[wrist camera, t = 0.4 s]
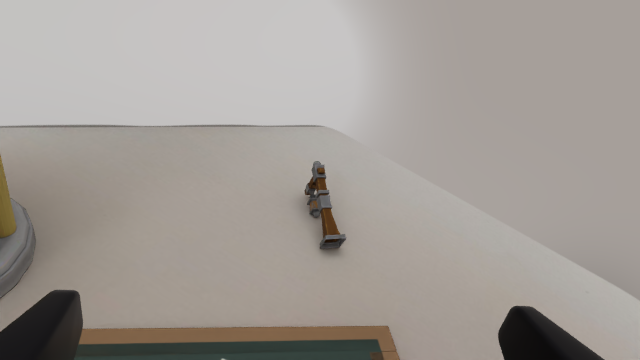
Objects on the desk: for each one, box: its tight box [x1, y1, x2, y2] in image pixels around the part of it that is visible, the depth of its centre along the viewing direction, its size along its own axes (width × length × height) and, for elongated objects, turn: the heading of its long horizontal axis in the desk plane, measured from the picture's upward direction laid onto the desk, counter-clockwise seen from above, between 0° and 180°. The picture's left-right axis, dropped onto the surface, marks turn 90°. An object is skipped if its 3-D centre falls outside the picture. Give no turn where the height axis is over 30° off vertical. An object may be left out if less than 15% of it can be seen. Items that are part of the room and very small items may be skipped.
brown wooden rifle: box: [305, 161, 346, 248], centre depth 40 cm, size 2×8×4 cm, turn 17°
